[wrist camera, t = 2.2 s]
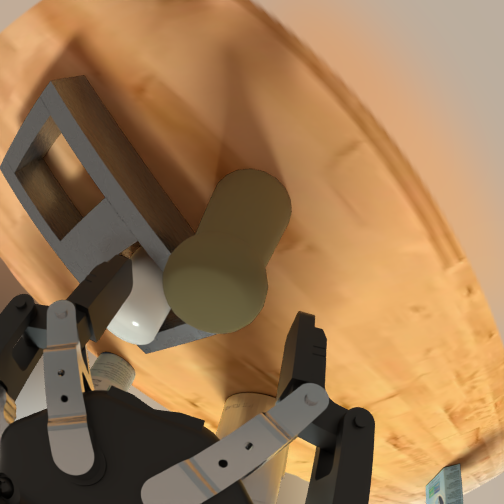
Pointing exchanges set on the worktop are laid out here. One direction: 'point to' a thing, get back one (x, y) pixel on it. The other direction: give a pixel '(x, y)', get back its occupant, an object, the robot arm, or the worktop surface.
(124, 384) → the spray paint can
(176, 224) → the cinder block
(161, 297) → the salt cellar
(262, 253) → the cork
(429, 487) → the gum box
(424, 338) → the worktop surface
